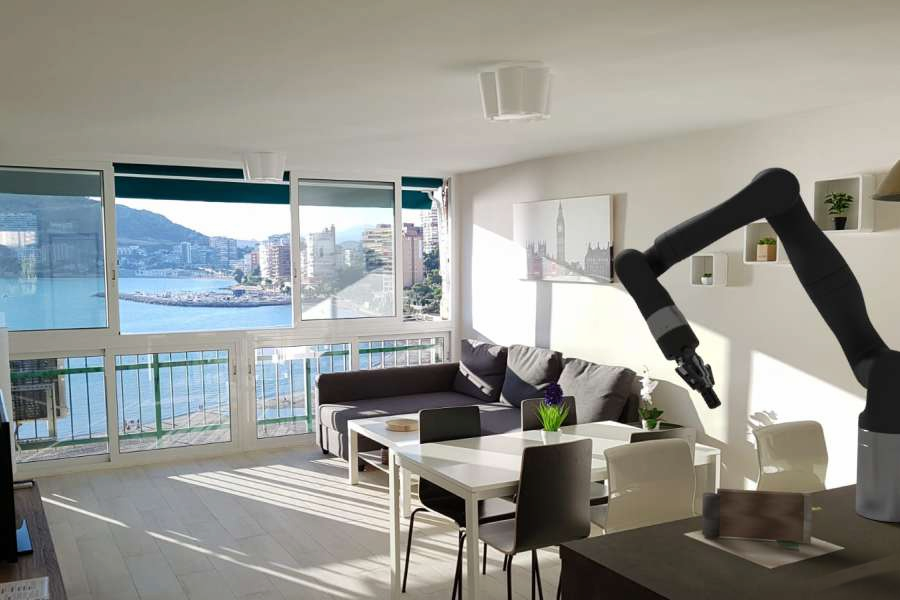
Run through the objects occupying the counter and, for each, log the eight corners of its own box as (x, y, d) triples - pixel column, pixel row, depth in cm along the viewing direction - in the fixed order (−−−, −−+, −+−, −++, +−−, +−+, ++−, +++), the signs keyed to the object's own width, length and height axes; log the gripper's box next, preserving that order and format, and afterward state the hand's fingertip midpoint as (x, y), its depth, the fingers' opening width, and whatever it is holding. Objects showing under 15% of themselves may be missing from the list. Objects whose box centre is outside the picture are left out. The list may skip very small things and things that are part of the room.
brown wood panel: (806, 537, 133) (807, 492, 133) (811, 543, 130) (813, 497, 130) (700, 531, 136) (701, 486, 136) (703, 536, 133) (704, 491, 133)
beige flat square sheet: (755, 526, 145) (755, 517, 145) (844, 556, 130) (844, 546, 130) (683, 542, 136) (683, 532, 136) (770, 577, 120) (770, 567, 120)
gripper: (672, 320, 151) (719, 398, 143) (700, 324, 161) (744, 397, 153) (643, 340, 154) (686, 417, 147) (671, 343, 164) (713, 415, 157)
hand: (716, 407), depth 150 cm, fingers closed
